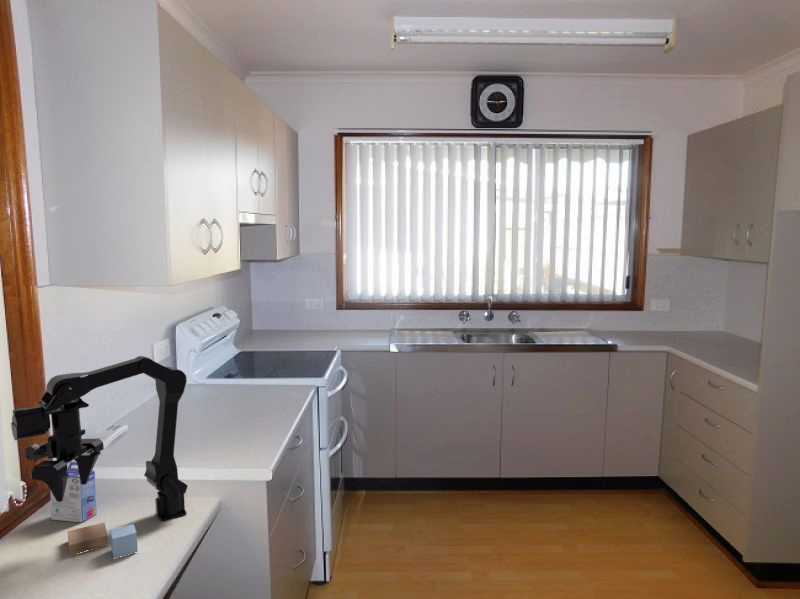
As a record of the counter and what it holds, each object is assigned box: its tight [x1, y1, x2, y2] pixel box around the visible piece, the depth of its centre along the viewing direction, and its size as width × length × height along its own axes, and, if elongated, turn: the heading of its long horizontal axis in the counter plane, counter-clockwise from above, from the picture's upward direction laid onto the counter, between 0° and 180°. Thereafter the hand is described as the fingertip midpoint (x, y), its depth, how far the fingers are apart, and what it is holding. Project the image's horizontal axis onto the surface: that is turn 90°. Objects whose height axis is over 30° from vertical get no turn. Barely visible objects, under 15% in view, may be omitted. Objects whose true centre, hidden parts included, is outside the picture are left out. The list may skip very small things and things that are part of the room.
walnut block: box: [67, 522, 109, 557], centre depth 133 cm, size 8×8×3 cm
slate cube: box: [110, 523, 139, 559], centre depth 129 cm, size 5×5×5 cm
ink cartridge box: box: [49, 461, 98, 523], centre depth 146 cm, size 10×6×14 cm, turn 78°
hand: (72, 492), depth 130 cm, fingers open, 9 cm apart
